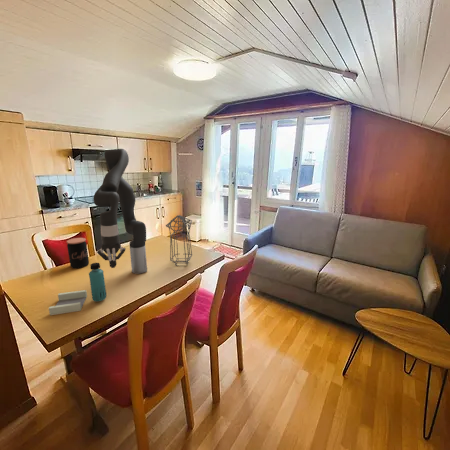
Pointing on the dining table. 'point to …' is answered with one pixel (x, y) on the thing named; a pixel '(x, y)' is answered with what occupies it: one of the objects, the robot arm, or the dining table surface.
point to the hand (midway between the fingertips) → (113, 267)
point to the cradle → (69, 302)
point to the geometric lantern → (178, 236)
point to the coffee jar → (77, 253)
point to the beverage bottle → (97, 283)
